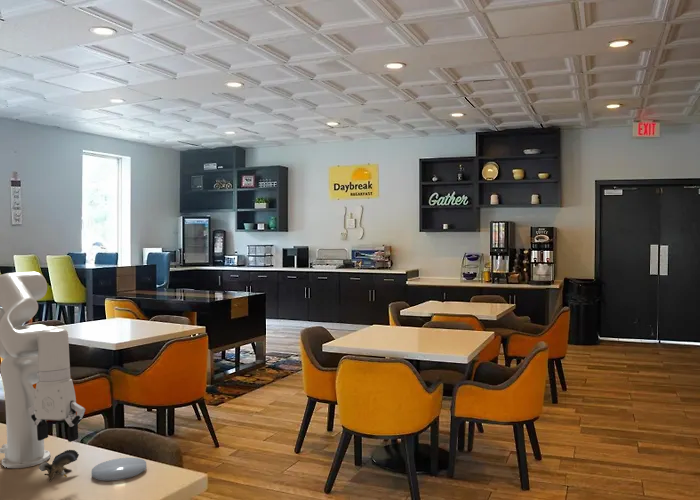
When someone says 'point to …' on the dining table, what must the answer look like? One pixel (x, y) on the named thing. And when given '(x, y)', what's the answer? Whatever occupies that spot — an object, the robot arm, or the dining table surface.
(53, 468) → the eagle figurine
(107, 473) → the smooth grey pebble
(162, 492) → the dining table surface
